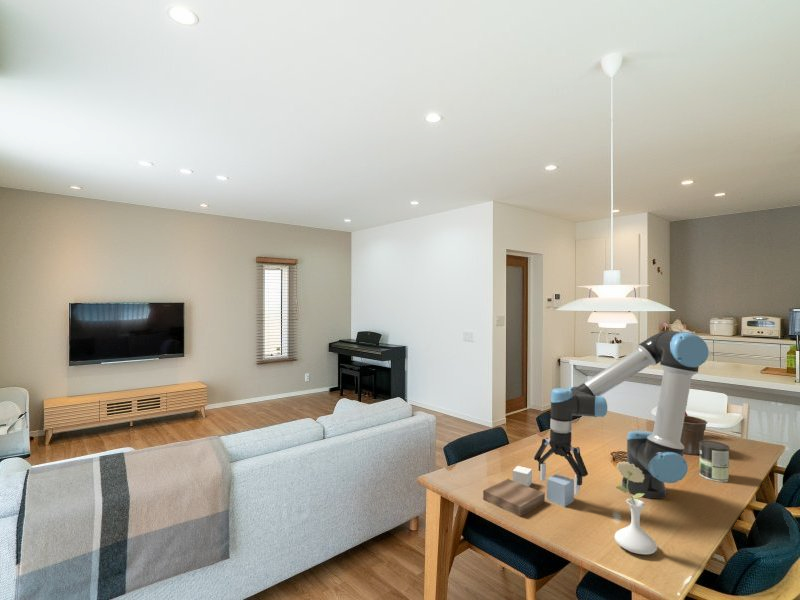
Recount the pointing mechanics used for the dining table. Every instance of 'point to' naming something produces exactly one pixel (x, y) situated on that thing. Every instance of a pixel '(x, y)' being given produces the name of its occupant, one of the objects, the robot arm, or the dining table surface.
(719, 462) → the coffee can
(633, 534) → the flower in vase
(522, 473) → the white cube
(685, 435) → the plant pot
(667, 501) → the dining table surface
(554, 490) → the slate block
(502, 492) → the walnut block
